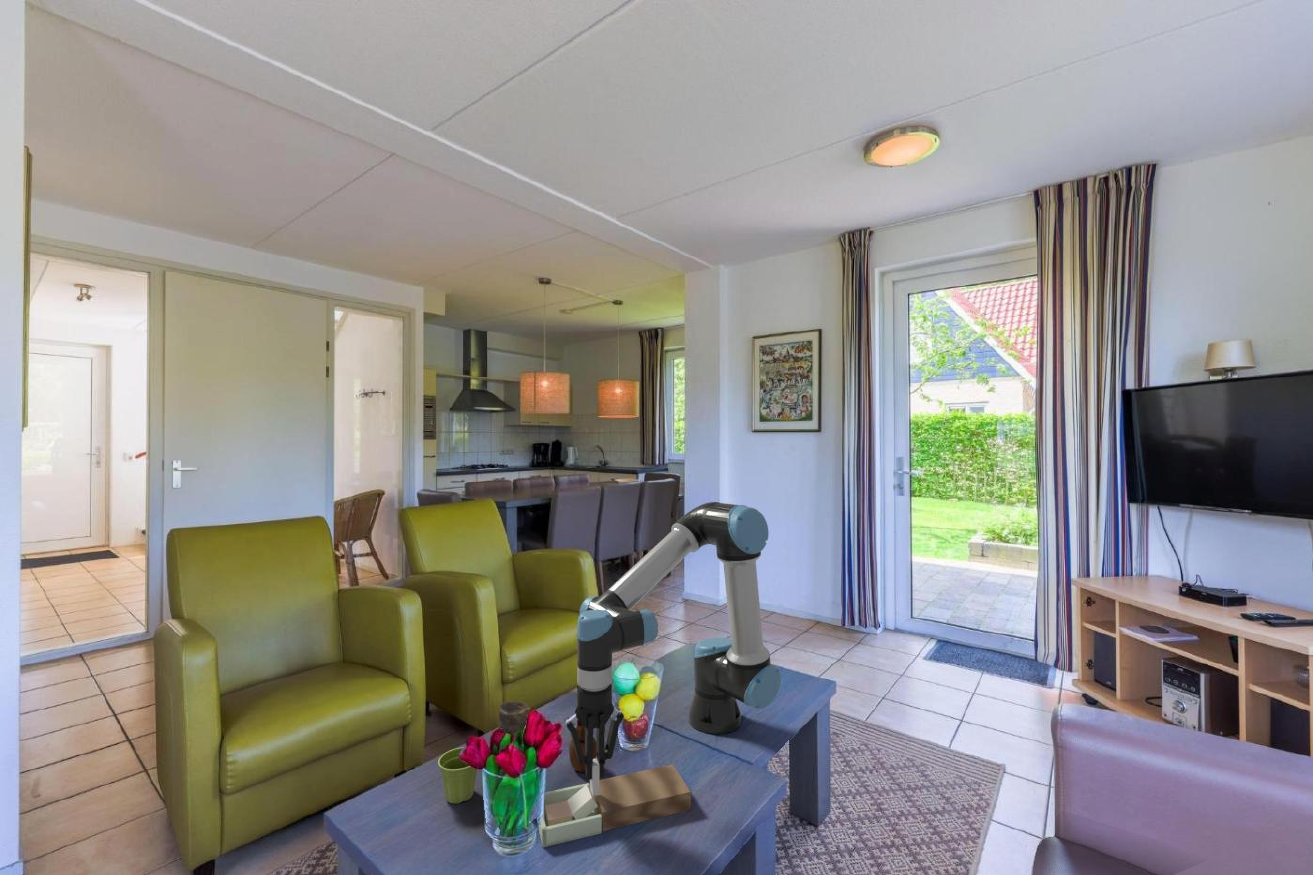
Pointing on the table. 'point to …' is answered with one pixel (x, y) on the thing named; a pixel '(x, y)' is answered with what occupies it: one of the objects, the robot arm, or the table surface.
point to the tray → (568, 829)
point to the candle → (513, 716)
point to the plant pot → (457, 777)
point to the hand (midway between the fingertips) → (594, 791)
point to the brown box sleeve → (641, 797)
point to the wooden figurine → (572, 752)
